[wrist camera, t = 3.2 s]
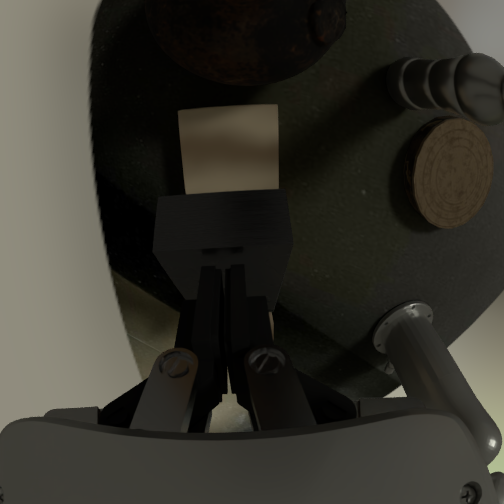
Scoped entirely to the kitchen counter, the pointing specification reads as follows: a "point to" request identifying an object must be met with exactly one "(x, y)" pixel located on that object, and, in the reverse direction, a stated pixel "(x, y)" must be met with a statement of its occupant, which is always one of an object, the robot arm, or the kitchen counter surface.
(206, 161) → the nutcracker base
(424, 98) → the plastic bottle
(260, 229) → the lever
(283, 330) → the kitchen counter surface
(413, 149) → the brown round flat disc
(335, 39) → the glass bottle
